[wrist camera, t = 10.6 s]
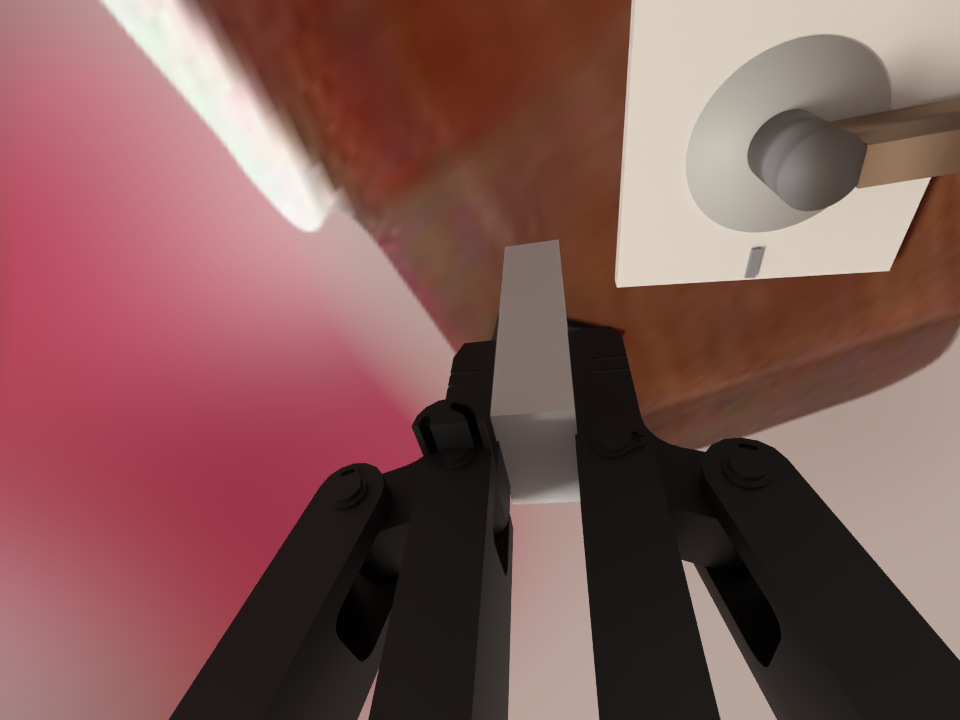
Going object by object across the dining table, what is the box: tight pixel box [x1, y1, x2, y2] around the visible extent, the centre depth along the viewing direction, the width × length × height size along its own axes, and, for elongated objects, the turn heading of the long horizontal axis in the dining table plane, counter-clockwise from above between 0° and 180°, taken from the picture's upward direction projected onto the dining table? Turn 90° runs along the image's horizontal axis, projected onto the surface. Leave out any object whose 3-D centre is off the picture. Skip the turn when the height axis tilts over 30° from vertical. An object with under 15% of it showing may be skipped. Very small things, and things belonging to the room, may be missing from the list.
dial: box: [747, 98, 960, 211], centre depth 29 cm, size 14×4×6 cm, turn 102°
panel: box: [615, 0, 960, 287], centre depth 32 cm, size 20×20×2 cm
